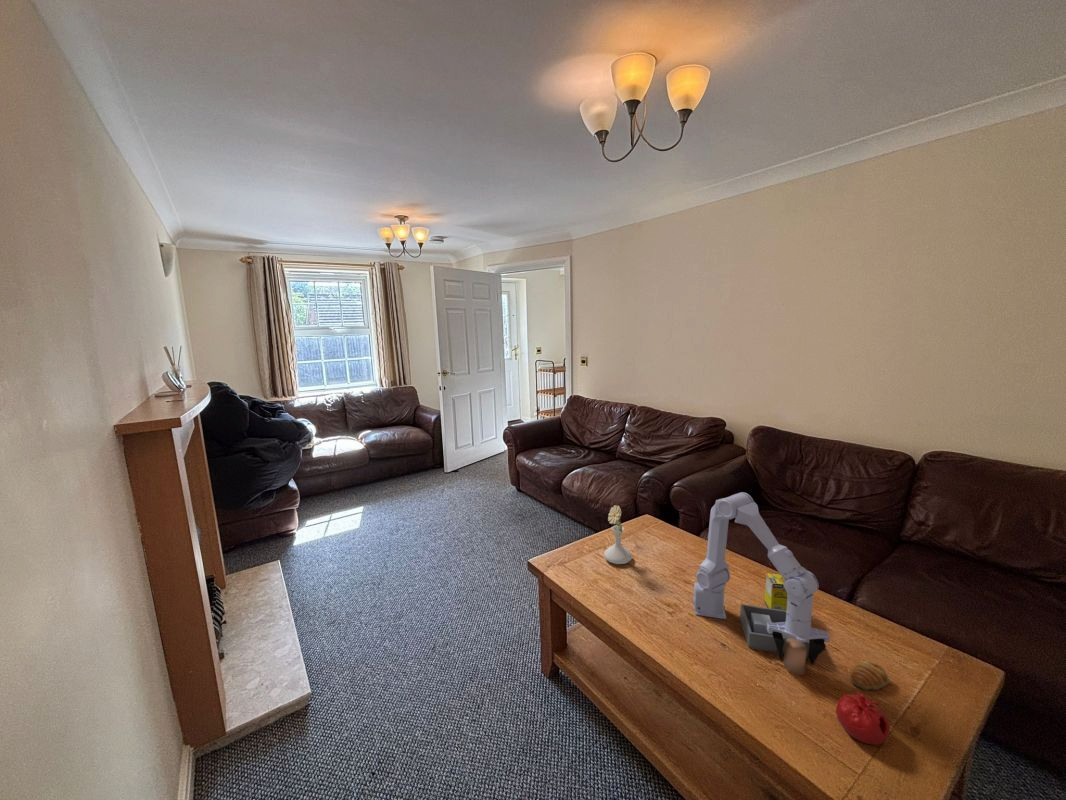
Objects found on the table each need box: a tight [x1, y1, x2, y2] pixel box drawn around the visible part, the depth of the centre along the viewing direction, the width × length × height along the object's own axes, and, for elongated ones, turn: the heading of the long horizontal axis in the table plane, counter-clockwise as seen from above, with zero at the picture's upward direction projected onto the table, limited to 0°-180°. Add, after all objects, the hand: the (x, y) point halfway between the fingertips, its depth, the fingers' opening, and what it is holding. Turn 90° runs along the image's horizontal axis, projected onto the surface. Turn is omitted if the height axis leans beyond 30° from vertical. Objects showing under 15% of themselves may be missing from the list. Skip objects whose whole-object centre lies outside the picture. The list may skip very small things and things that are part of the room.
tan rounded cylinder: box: [783, 638, 807, 676], centre depth 114 cm, size 5×5×7 cm
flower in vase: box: [603, 505, 633, 565], centre depth 167 cm, size 13×11×25 cm
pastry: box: [850, 660, 891, 691], centre depth 109 cm, size 9×7×4 cm
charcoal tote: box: [739, 603, 809, 659], centre depth 125 cm, size 17×13×5 cm
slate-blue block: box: [750, 613, 772, 635], centre depth 126 cm, size 5×5×5 cm
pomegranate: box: [835, 690, 891, 745], centre depth 95 cm, size 10×10×9 cm
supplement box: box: [763, 572, 787, 611], centre depth 137 cm, size 6×6×11 cm
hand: (795, 658), depth 114 cm, fingers open, 7 cm apart
